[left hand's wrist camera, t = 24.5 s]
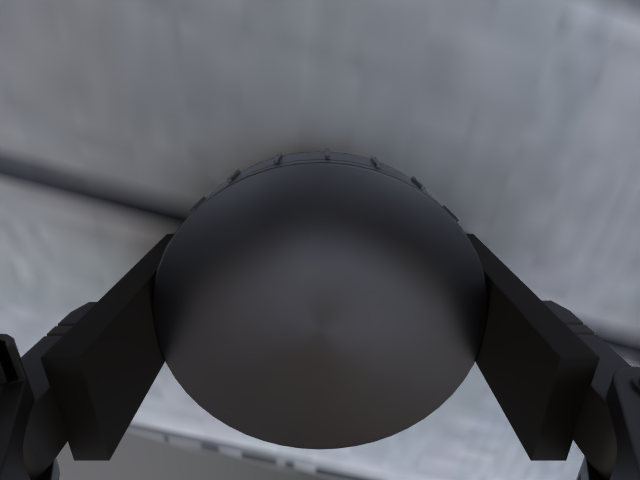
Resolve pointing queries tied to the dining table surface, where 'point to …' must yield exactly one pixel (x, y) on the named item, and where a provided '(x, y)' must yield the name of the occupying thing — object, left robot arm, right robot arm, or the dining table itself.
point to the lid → (320, 301)
